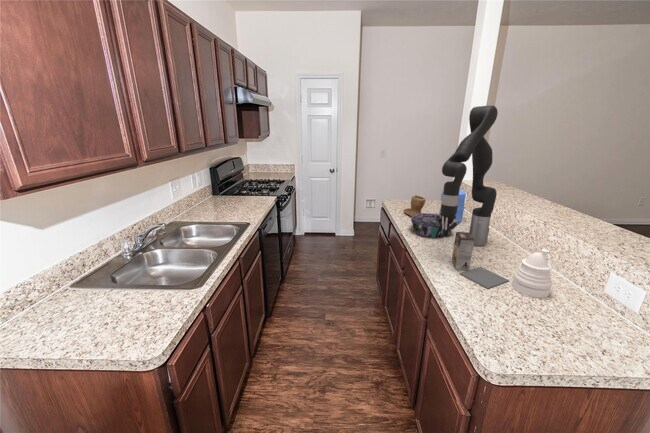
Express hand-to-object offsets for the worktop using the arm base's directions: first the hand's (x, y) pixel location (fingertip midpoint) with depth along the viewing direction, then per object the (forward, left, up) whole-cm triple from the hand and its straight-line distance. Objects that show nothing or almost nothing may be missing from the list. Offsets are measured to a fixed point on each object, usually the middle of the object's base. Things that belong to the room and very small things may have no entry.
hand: (445, 236), depth 143 cm
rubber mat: (0, +23, -12) cm, 26 cm away
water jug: (-50, -40, -12) cm, 65 cm away
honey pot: (-9, +38, -12) cm, 41 cm away
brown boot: (-36, -61, -12) cm, 72 cm away
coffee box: (0, +11, -12) cm, 16 cm away
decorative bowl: (-22, -30, -12) cm, 39 cm away
